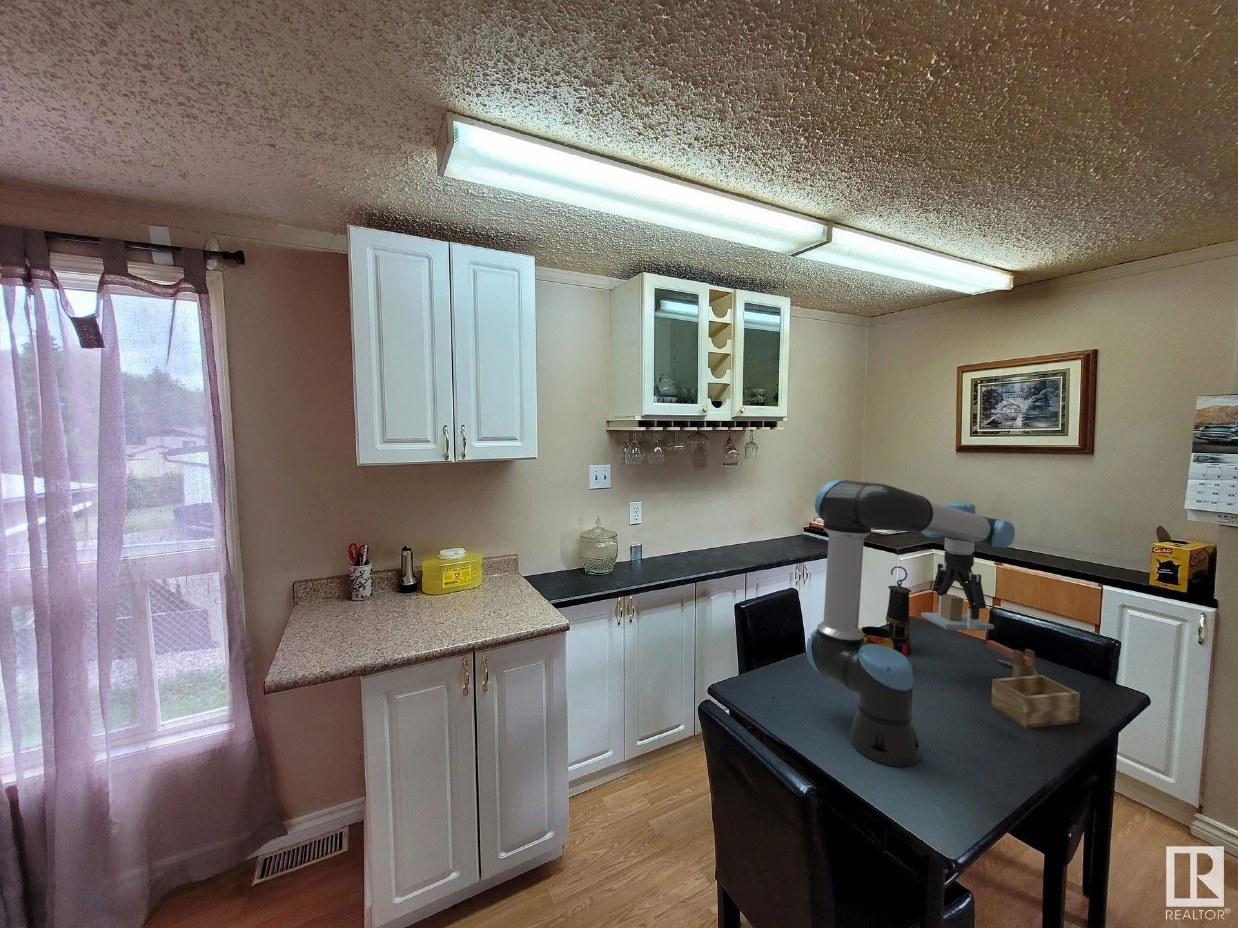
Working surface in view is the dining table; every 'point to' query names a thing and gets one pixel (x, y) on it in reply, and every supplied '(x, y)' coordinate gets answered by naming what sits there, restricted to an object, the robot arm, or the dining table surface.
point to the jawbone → (1012, 666)
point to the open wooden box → (1035, 701)
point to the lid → (953, 615)
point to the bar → (1007, 652)
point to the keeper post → (1018, 666)
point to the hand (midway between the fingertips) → (957, 621)
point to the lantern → (899, 613)
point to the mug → (882, 638)
